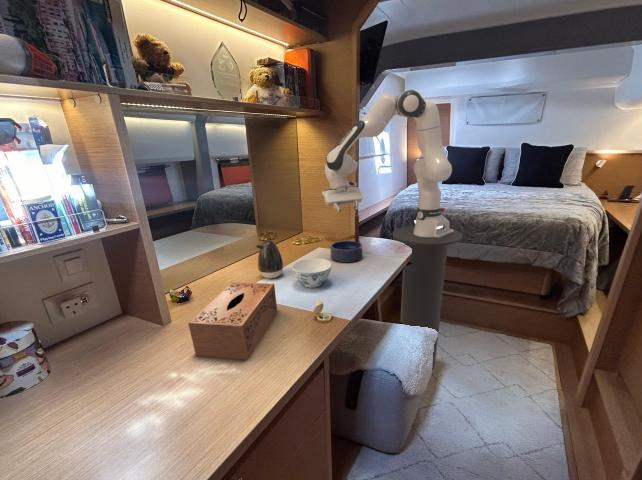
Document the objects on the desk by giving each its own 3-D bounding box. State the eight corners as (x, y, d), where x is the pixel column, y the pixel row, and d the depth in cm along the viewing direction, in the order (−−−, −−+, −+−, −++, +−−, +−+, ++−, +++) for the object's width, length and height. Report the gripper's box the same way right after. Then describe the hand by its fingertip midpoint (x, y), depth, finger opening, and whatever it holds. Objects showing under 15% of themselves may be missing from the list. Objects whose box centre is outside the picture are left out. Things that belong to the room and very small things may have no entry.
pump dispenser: (254, 276, 139) (249, 240, 133) (275, 269, 145) (272, 235, 139) (267, 283, 132) (262, 246, 126) (289, 276, 138) (285, 240, 132)
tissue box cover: (235, 309, 113) (231, 282, 109) (277, 311, 110) (274, 283, 106) (195, 355, 90) (188, 323, 86) (247, 359, 87) (241, 326, 83)
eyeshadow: (325, 323, 102) (324, 308, 100) (312, 318, 105) (311, 304, 103) (333, 317, 105) (333, 303, 104) (321, 313, 108) (320, 299, 106)
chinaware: (339, 286, 127) (339, 267, 124) (303, 295, 120) (301, 275, 117) (321, 273, 139) (320, 255, 136) (287, 281, 133) (285, 263, 130)
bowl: (350, 250, 165) (350, 238, 162) (368, 258, 153) (368, 246, 151) (325, 256, 158) (324, 244, 156) (342, 265, 147) (341, 252, 144)
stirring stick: (357, 245, 172) (357, 214, 165) (361, 247, 169) (361, 215, 163) (352, 247, 170) (352, 215, 164) (356, 248, 168) (356, 216, 161)
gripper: (322, 185, 169) (330, 208, 165) (358, 182, 176) (367, 204, 172) (319, 193, 175) (327, 216, 170) (354, 190, 182) (363, 211, 177)
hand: (348, 210), depth 171 cm, fingers open, 8 cm apart
